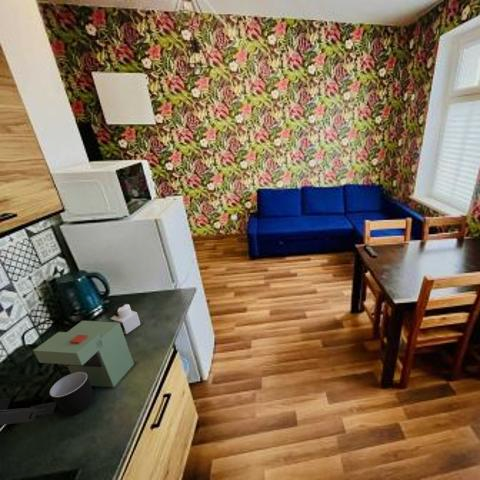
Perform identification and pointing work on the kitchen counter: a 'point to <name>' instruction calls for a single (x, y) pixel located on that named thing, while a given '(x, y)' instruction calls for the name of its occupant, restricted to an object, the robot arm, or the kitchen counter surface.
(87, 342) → the coffee machine
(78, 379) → the mug
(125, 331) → the medicine bottle
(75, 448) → the kitchen counter surface
